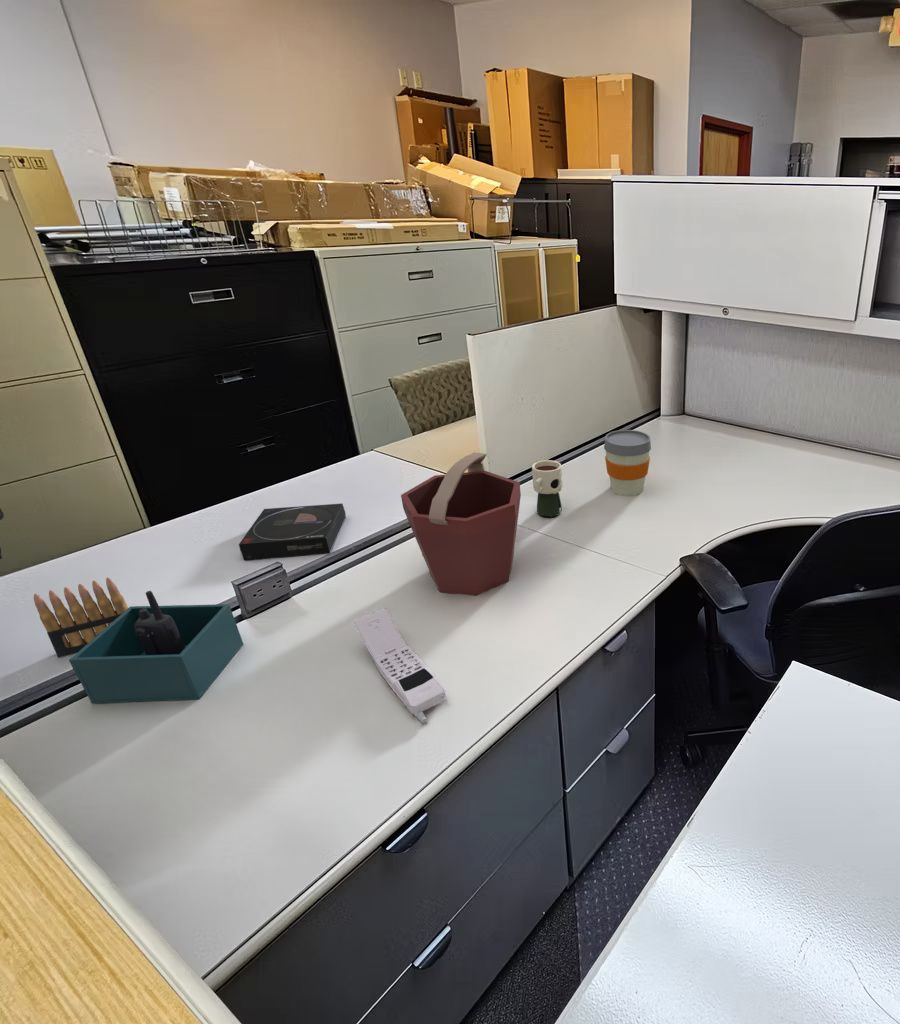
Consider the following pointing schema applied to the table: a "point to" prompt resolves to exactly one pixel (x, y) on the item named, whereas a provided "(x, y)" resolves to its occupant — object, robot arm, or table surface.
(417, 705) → the mobile phone
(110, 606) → the ammunition clip
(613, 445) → the reusable coffee cup
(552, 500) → the character mug
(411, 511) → the bucket
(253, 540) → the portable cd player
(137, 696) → the bin
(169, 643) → the two-way radio
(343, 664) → the table surface
